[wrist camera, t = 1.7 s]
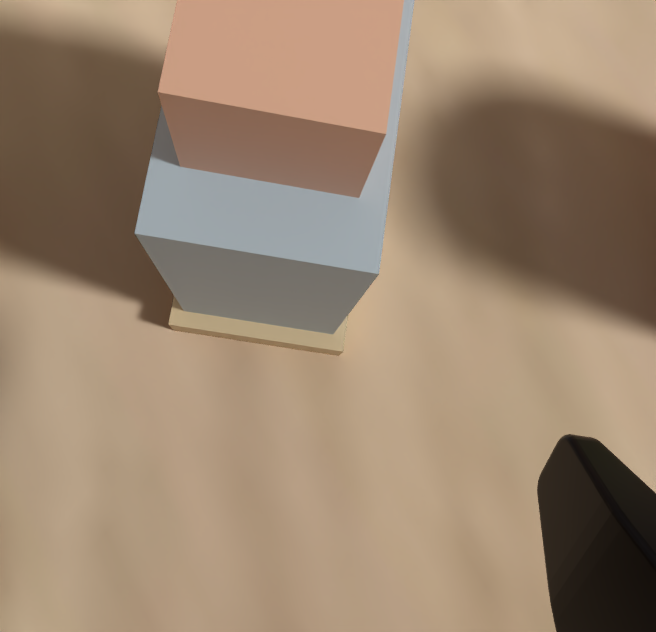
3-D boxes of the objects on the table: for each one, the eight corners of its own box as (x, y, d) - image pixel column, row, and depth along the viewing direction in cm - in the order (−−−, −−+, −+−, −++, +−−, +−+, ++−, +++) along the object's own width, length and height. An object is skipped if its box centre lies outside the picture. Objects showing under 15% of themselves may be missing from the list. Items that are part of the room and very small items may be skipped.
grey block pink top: (338, 355, 21) (434, 265, 10) (173, 330, 21) (62, 202, 9) (372, 115, 23) (487, -210, 11) (220, 87, 23) (176, -282, 11)
